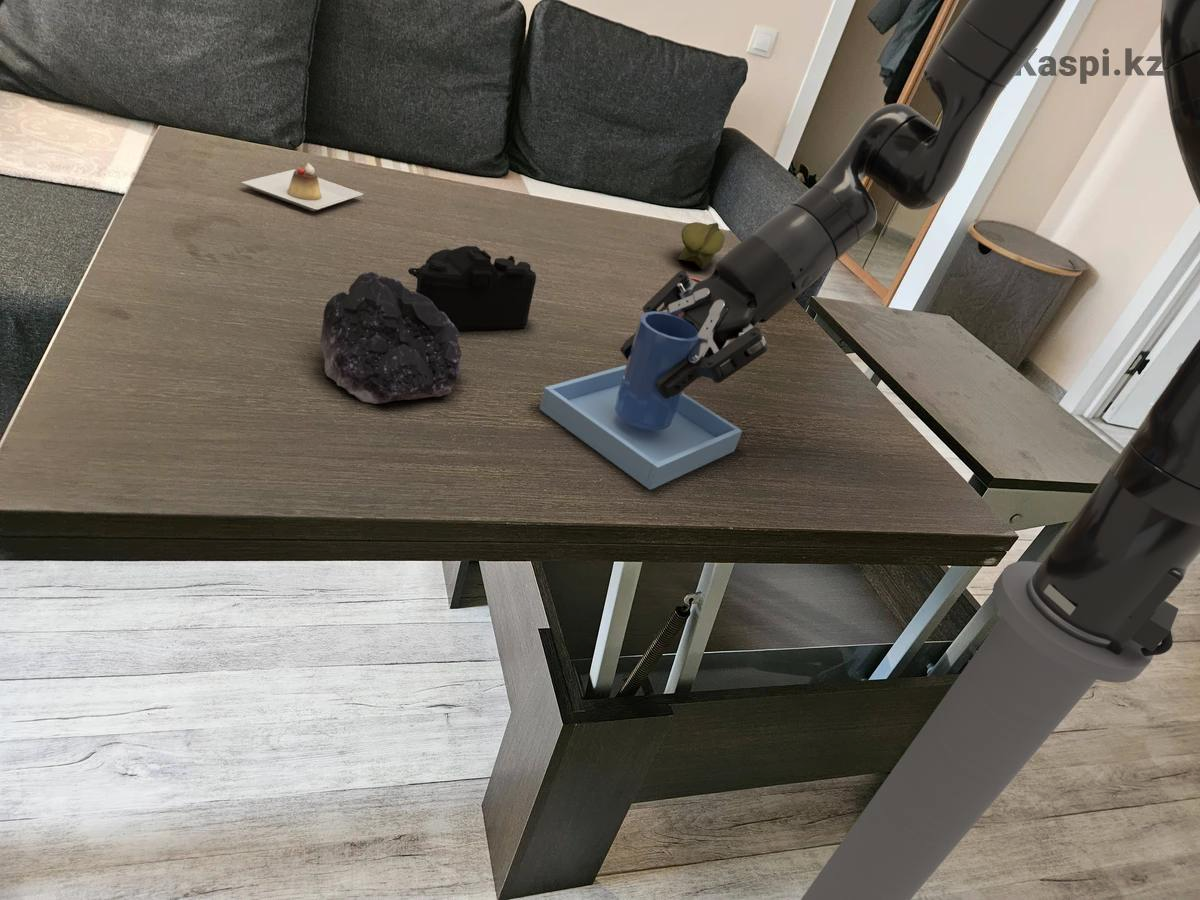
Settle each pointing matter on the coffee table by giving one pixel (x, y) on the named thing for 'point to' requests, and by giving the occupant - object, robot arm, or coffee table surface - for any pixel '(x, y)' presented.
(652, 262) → the coffee table surface
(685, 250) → the fruit
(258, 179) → the dessert
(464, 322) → the film camera
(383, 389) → the crystal cluster
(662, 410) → the blue cup
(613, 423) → the tray
